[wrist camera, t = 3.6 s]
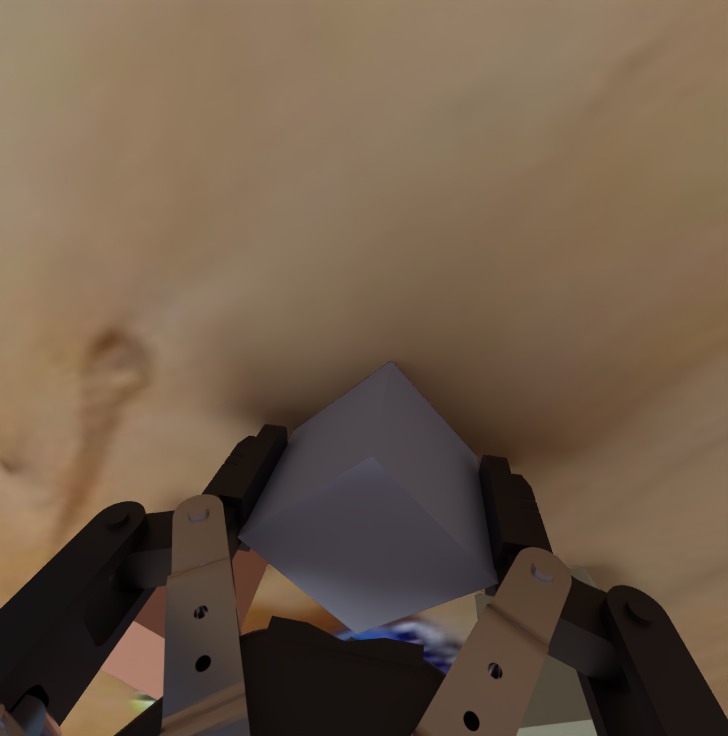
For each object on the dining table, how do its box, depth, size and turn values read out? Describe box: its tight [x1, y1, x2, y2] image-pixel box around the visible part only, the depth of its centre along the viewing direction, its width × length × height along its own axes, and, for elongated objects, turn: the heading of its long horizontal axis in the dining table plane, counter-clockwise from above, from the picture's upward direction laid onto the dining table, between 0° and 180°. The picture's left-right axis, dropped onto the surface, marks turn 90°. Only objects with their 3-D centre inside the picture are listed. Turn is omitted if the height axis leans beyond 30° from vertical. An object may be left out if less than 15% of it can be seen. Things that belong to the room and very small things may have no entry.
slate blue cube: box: [238, 361, 498, 634], centre depth 12 cm, size 5×5×5 cm
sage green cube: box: [475, 567, 600, 736], centre depth 15 cm, size 5×5×5 cm
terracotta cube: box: [100, 548, 268, 700], centre depth 17 cm, size 5×5×5 cm
